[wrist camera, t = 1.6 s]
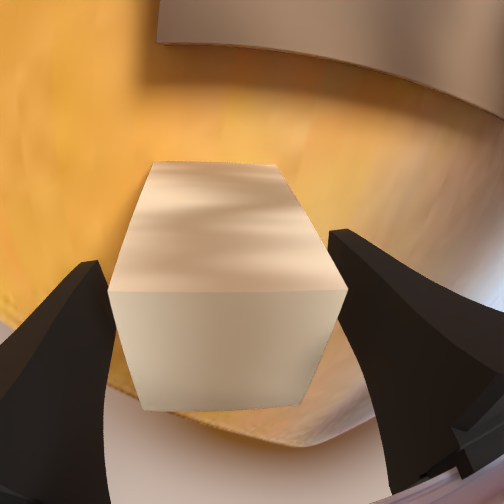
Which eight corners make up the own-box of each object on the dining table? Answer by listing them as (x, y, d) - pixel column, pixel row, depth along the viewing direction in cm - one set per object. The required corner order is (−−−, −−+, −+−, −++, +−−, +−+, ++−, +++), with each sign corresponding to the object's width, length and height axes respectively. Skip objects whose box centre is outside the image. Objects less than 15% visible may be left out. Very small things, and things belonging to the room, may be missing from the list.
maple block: (276, 164, 12) (348, 289, 6) (262, 262, 14) (300, 404, 9) (154, 161, 11) (107, 290, 5) (158, 262, 14) (143, 410, 8)
